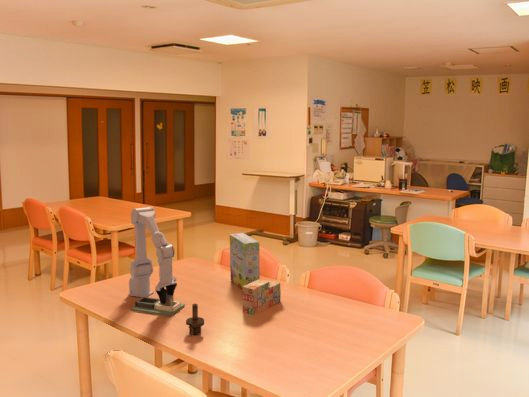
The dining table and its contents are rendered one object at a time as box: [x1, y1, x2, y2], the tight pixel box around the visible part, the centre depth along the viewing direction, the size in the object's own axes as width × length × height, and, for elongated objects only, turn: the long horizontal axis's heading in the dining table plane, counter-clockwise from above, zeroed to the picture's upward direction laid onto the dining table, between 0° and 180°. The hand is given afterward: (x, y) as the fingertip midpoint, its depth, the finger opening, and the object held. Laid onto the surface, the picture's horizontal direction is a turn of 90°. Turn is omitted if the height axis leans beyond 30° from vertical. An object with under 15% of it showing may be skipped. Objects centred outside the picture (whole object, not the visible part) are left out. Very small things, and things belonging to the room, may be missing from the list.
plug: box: [162, 294, 175, 307], centre depth 226 cm, size 4×3×6 cm
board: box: [130, 296, 186, 317], centre depth 228 cm, size 20×13×3 cm, turn 70°
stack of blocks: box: [241, 279, 282, 316], centre depth 230 cm, size 21×6×12 cm, turn 144°
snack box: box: [228, 232, 261, 291], centre depth 257 cm, size 22×9×26 cm, turn 25°
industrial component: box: [185, 303, 205, 336], centre depth 202 cm, size 9×7×12 cm
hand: (166, 301), depth 226 cm, fingers open, 5 cm apart
